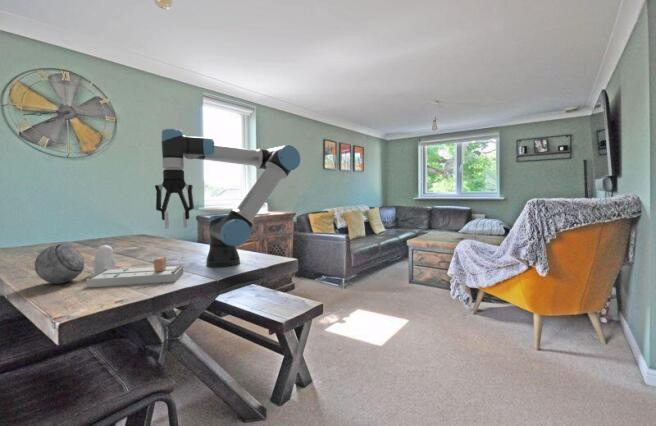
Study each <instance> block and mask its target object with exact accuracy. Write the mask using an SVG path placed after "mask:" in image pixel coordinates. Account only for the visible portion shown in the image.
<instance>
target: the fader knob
mask: <svg viewBox="0 0 656 426" xmlns="http://www.w3.org/2000/svg"><path fill="white" fill-rule="evenodd" d="M153 266H154V271H155V272H157V271H164V270H165V269H166V267H167V258H166V256H158V257H155V258H154V259H153Z"/></svg>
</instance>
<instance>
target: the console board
mask: <svg viewBox="0 0 656 426" xmlns="http://www.w3.org/2000/svg"><path fill="white" fill-rule="evenodd" d="M183 274H184V265H182V264H177V265H173V266H166V269H165V270H164V271H157V272H155V271H154V267H140V268H139V267H138V268H137V267H136V268H120V269H118V268H117V269H113V270H107V269H103V270H101V271H99V272H97V273H93V274H91V275H90V276H88V277H87V278H86V280H85V281H86V288H97V287H99V288H101V287H113V286H126V285H140V284H141V285H143V284H157V283H173V282H177V281H178V280H179V278H180V277H181V276H182V275H183Z"/></svg>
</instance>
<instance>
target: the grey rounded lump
mask: <svg viewBox="0 0 656 426" xmlns="http://www.w3.org/2000/svg"><path fill="white" fill-rule="evenodd" d="M84 268H85V259H84V257H83V255H82V253H81V252H80V251H79V250H78V249H76V248H75V247H74V246H71V245H69V244H66V243H56V244H54V245H50V246H47V247H46V248H44V249H42V251H41V252H39V254H38V255H37V256H36V259H35V261H34V270H35V273H36V275H37V276H38V278H40V279H41V280H43V281H45V282H48V283H50V284H65V283H68V282H70V281H73V280H74V279H75V278H77V277H79V275H81V273H82V272H83V271H84Z"/></svg>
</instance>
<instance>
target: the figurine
mask: <svg viewBox="0 0 656 426" xmlns="http://www.w3.org/2000/svg"><path fill="white" fill-rule="evenodd" d="M116 265H117V260H116V258H114V249H113V247H111V246H110V245H106V244H105V245H101V246H99V247H98V248H97V249H96V251H95V254H94V259H93V271H94V272H93V274H95V273H97V272H99V271H101V270H103V269H107V270H115V267H116Z"/></svg>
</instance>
